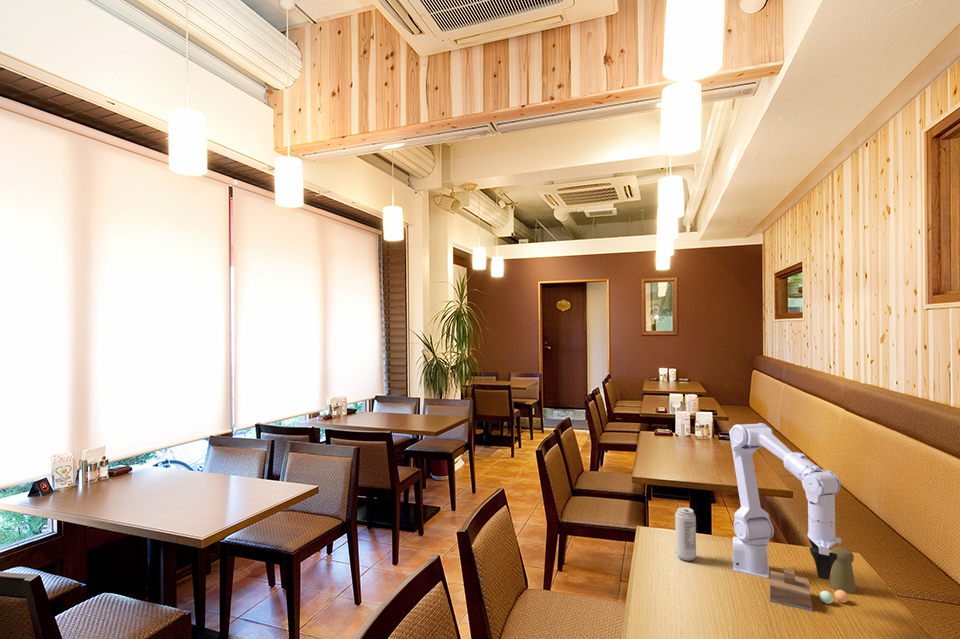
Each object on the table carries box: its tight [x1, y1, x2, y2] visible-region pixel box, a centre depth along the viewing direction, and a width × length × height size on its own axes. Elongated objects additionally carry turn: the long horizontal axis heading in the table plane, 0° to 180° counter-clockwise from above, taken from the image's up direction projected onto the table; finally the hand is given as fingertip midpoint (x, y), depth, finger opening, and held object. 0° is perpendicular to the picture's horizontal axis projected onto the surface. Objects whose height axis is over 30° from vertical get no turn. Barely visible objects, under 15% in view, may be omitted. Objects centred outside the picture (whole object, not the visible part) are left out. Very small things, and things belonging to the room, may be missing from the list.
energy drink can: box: [674, 506, 697, 562], centre depth 158 cm, size 6×6×15 cm
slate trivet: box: [769, 594, 813, 612], centre depth 134 cm, size 10×10×1 cm
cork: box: [829, 546, 857, 595], centre depth 138 cm, size 6×6×11 cm
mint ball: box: [818, 590, 834, 605], centre depth 131 cm, size 3×3×3 cm
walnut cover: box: [769, 567, 812, 609], centre depth 134 cm, size 9×9×7 cm
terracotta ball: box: [833, 590, 849, 604], centre depth 132 cm, size 3×3×3 cm
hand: (822, 571), depth 127 cm, fingers open, 7 cm apart
